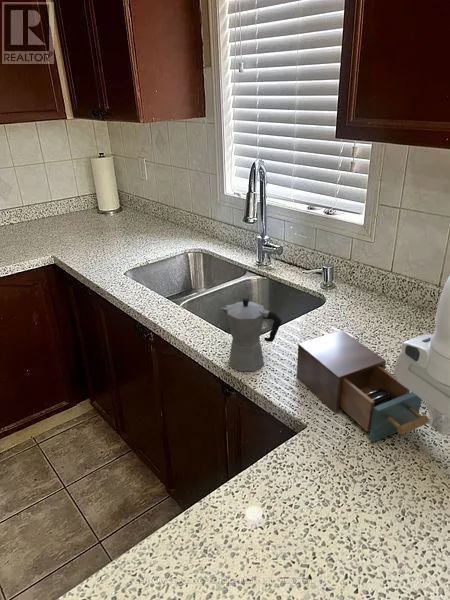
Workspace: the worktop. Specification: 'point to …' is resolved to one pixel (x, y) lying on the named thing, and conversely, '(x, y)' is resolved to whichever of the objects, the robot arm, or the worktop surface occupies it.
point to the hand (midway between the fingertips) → (439, 429)
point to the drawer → (384, 417)
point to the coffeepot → (248, 333)
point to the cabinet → (333, 365)
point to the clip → (379, 396)
